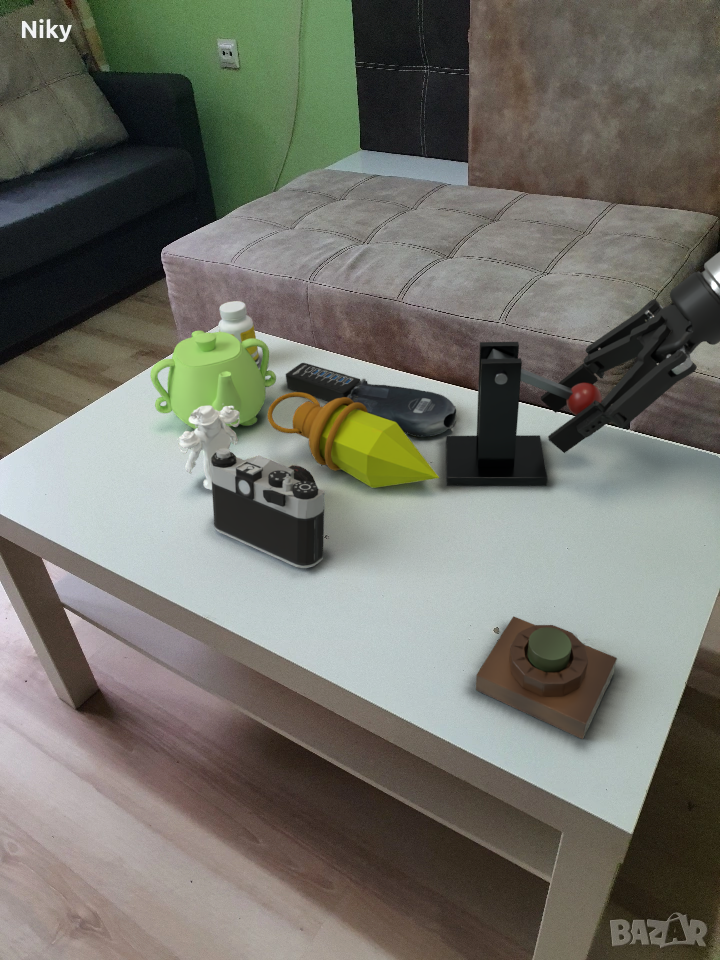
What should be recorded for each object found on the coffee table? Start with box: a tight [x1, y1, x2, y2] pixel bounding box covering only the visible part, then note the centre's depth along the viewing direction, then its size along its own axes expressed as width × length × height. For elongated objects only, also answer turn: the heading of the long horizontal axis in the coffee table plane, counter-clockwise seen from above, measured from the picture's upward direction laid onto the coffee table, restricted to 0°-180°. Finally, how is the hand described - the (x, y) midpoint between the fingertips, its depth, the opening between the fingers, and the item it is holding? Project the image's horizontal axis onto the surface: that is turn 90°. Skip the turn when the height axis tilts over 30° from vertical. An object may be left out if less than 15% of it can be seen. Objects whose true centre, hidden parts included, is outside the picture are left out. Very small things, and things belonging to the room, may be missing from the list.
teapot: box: [149, 330, 277, 430], centre depth 104 cm, size 16×14×13 cm
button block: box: [475, 616, 618, 740], centre depth 67 cm, size 10×8×4 cm
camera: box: [210, 448, 326, 569], centre depth 85 cm, size 15×11×10 cm
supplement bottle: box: [217, 300, 260, 365], centre depth 117 cm, size 5×5×10 cm
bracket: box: [445, 341, 548, 487], centre depth 90 cm, size 12×9×16 cm
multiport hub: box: [285, 362, 361, 402], centre depth 111 cm, size 4×11×2 cm, turn 55°
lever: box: [487, 349, 603, 416], centre depth 87 cm, size 14×4×4 cm, turn 85°
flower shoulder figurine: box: [177, 403, 240, 491], centre depth 92 cm, size 9×4×12 cm, turn 142°
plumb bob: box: [267, 391, 440, 489], centre depth 94 cm, size 9×9×25 cm
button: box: [528, 627, 571, 672], centre depth 66 cm, size 4×4×2 cm
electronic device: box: [347, 378, 457, 438], centre depth 104 cm, size 9×6×15 cm
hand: (552, 424), depth 91 cm, fingers open, 8 cm apart
